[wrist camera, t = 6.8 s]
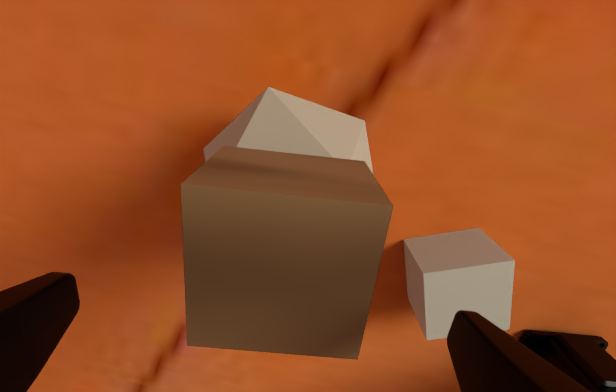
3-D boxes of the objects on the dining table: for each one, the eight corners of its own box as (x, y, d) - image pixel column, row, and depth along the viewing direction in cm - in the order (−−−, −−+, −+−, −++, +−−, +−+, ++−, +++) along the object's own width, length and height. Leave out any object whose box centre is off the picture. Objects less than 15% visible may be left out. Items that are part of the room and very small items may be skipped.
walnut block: (343, 277, 13) (357, 359, 9) (222, 265, 13) (187, 345, 9) (364, 161, 11) (393, 205, 7) (224, 145, 11) (180, 183, 7)
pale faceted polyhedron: (195, 144, 19) (177, 305, 14) (238, 17, 13) (233, 223, 8) (310, 172, 23) (328, 306, 18) (387, 82, 17) (447, 251, 12)
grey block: (476, 287, 23) (509, 329, 19) (407, 297, 23) (426, 340, 19) (477, 226, 21) (514, 260, 17) (402, 238, 21) (423, 273, 17)
